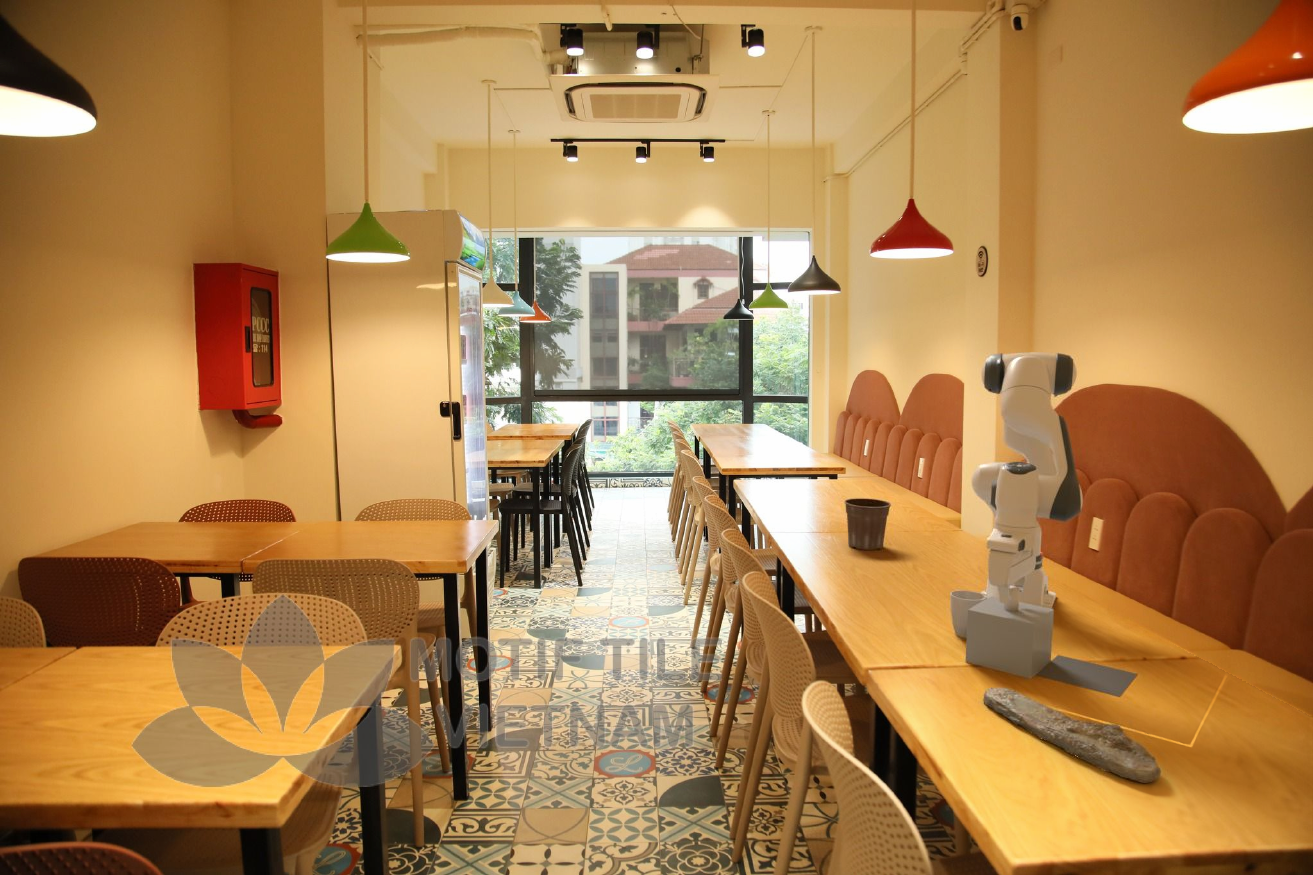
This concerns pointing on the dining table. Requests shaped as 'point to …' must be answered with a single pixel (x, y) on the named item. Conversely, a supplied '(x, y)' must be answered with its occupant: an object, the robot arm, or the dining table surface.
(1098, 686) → the mat
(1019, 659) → the cover
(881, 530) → the plant pot
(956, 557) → the dining table surface
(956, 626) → the cup
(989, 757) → the dining table surface
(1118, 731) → the elongated rock
